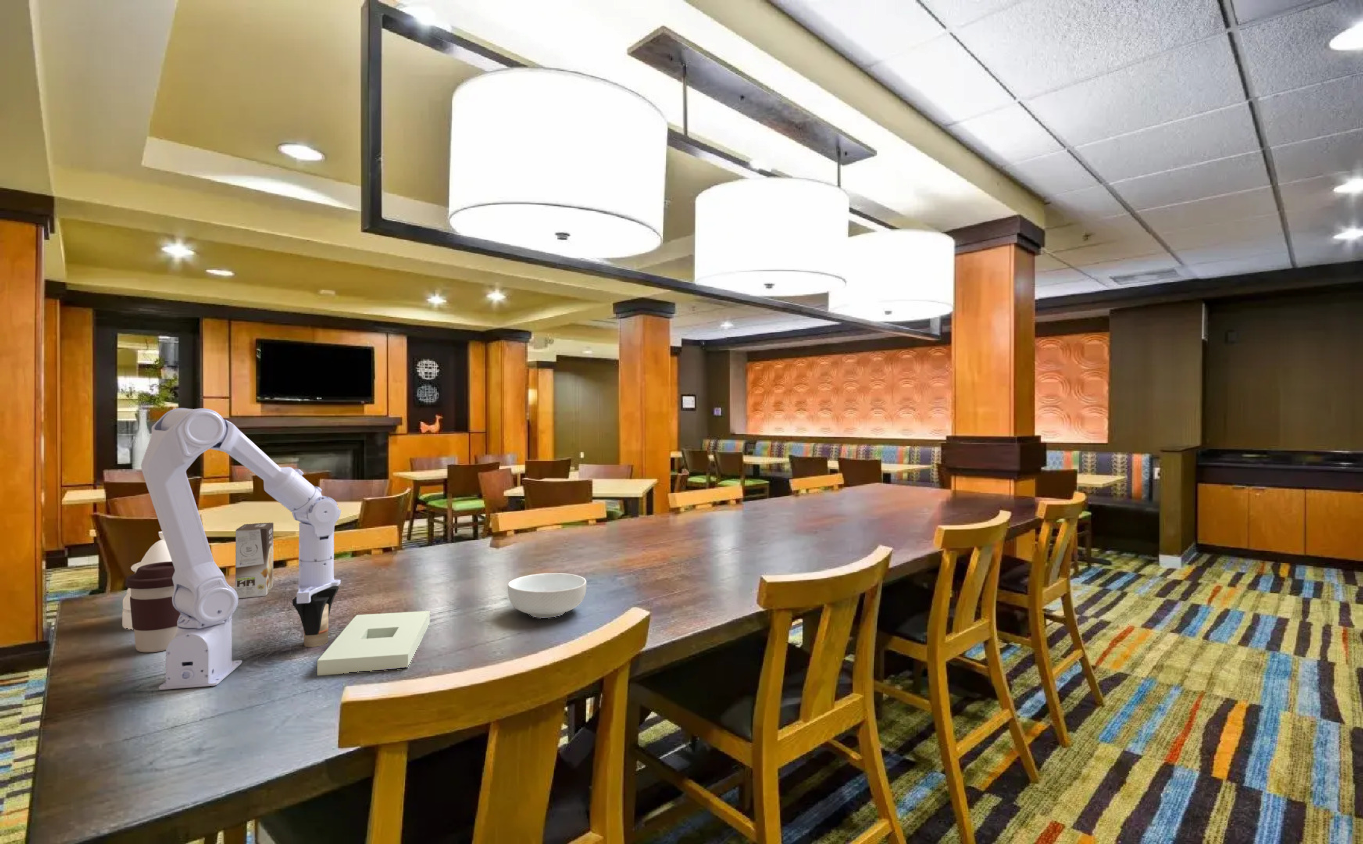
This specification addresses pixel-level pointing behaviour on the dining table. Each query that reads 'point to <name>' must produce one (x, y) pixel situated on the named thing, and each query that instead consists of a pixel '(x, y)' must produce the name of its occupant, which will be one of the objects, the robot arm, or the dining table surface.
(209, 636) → the robot arm
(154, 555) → the honey pot
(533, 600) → the cereal bowl
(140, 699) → the dining table surface
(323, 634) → the peg
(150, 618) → the coffee cup
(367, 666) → the board
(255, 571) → the coffee box
